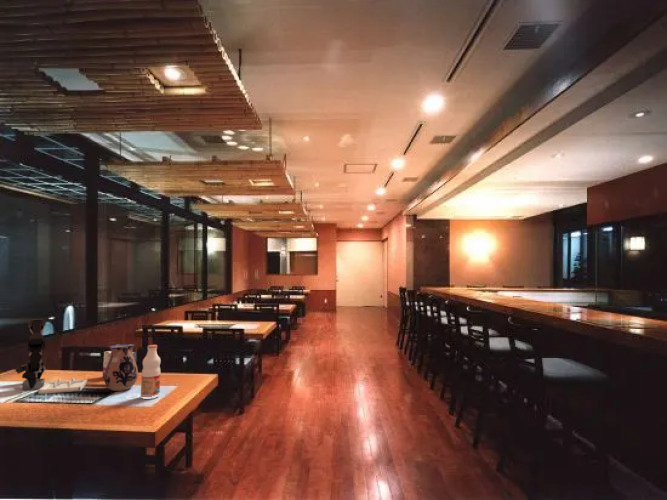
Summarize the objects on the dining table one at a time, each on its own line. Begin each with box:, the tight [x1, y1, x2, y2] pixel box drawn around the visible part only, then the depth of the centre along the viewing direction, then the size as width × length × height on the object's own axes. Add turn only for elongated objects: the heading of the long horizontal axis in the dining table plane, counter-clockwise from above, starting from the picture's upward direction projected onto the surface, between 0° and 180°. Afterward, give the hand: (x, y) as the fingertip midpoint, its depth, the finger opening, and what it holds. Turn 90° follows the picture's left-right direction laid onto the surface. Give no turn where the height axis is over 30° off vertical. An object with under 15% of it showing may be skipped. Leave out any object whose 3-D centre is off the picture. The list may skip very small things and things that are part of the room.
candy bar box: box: [102, 350, 111, 378], centre depth 257 cm, size 11×5×16 cm, turn 68°
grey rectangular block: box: [21, 378, 46, 391], centre depth 230 cm, size 5×9×5 cm, turn 108°
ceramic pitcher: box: [103, 343, 139, 392], centre depth 234 cm, size 18×21×25 cm
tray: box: [37, 377, 88, 395], centre depth 231 cm, size 17×20×4 cm
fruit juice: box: [140, 344, 162, 398], centre depth 219 cm, size 9×9×28 cm
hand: (33, 386), depth 230 cm, fingers open, 6 cm apart
